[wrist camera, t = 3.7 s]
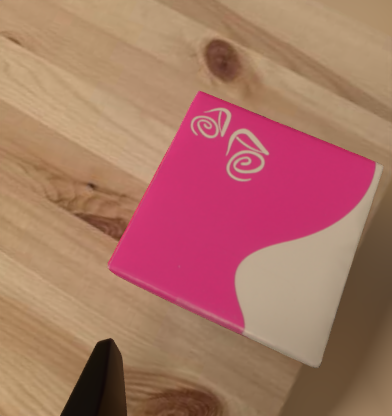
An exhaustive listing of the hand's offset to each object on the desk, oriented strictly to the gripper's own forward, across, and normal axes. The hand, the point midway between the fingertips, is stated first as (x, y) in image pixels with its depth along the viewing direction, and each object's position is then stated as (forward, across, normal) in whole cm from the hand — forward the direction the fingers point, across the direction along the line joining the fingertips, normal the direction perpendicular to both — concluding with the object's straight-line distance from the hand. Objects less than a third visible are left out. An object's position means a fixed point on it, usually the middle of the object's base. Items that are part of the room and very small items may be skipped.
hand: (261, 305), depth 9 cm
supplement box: (+8, 0, +5) cm, 10 cm away
